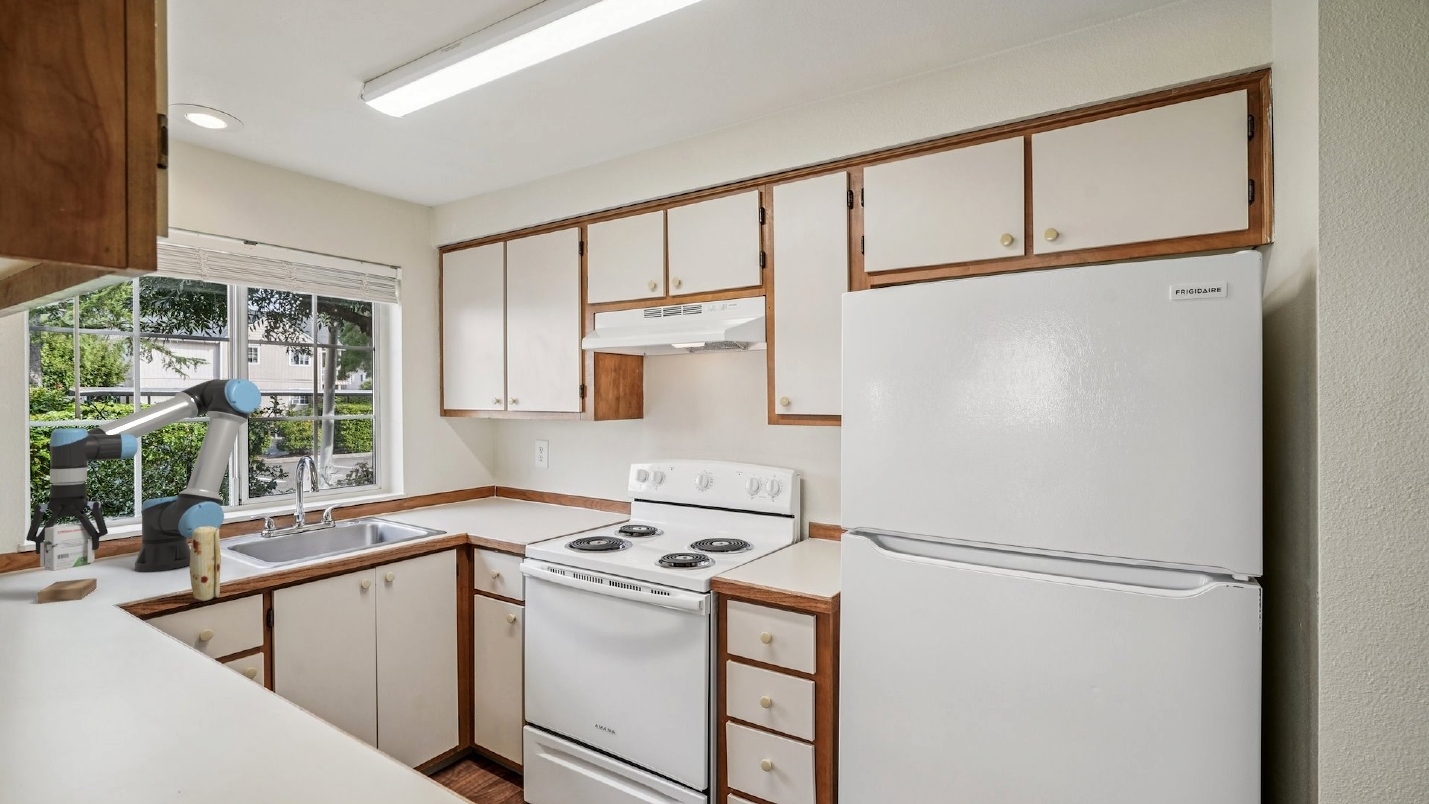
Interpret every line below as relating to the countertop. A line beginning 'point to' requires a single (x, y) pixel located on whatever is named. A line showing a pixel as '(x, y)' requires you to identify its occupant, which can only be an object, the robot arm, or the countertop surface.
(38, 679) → the countertop surface
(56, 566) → the ink box
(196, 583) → the food model
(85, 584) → the base
